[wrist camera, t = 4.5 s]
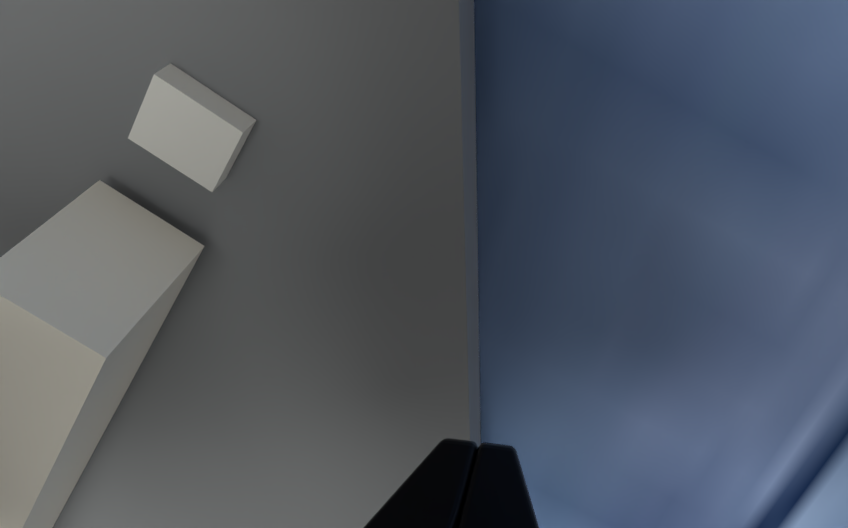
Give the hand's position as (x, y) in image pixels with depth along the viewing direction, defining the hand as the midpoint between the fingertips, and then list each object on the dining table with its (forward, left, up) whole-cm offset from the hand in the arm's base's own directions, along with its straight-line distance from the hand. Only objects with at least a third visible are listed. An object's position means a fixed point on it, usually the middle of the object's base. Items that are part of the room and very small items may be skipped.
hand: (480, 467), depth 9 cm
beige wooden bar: (-3, +8, -2) cm, 9 cm away
